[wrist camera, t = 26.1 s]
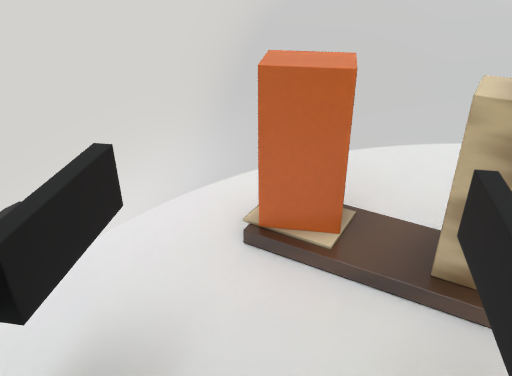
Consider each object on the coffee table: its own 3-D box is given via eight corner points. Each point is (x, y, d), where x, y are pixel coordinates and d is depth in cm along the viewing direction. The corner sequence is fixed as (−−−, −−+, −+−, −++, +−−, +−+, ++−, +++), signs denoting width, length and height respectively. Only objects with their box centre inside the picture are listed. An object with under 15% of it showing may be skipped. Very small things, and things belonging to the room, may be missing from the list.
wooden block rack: (236, 240, 28) (230, 67, 23) (280, 198, 33) (283, 46, 28) (678, 393, 19) (846, 156, 13) (653, 304, 23) (772, 100, 18)
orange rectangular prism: (258, 226, 28) (257, 64, 23) (267, 198, 31) (268, 49, 26) (340, 234, 27) (357, 68, 22) (340, 204, 30) (356, 52, 25)
